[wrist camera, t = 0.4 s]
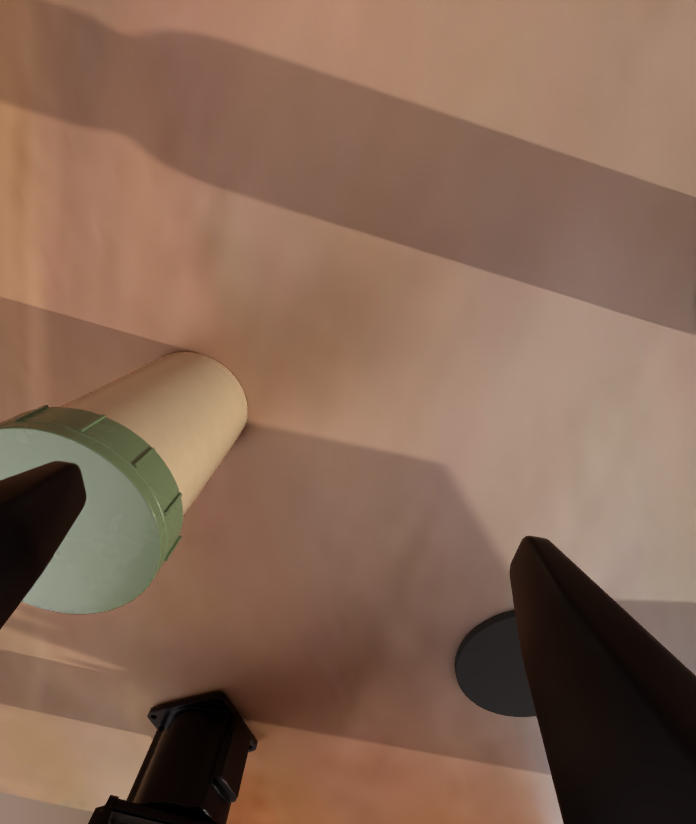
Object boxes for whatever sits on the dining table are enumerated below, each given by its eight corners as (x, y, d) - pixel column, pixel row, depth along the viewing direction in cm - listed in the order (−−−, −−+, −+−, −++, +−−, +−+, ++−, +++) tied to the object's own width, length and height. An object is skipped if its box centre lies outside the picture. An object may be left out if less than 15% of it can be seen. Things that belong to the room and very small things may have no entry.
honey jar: (172, 467, 23) (39, 614, 14) (117, 374, 22) (-84, 468, 12) (265, 435, 23) (192, 569, 13) (216, 335, 21) (86, 403, 11)
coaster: (474, 721, 30) (476, 728, 30) (437, 628, 27) (438, 634, 27) (611, 693, 29) (615, 700, 28) (589, 591, 26) (593, 597, 25)
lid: (61, 596, 15) (26, 634, 14) (-59, 444, 13) (-117, 470, 11) (218, 549, 14) (200, 585, 12) (115, 376, 12) (78, 394, 10)
